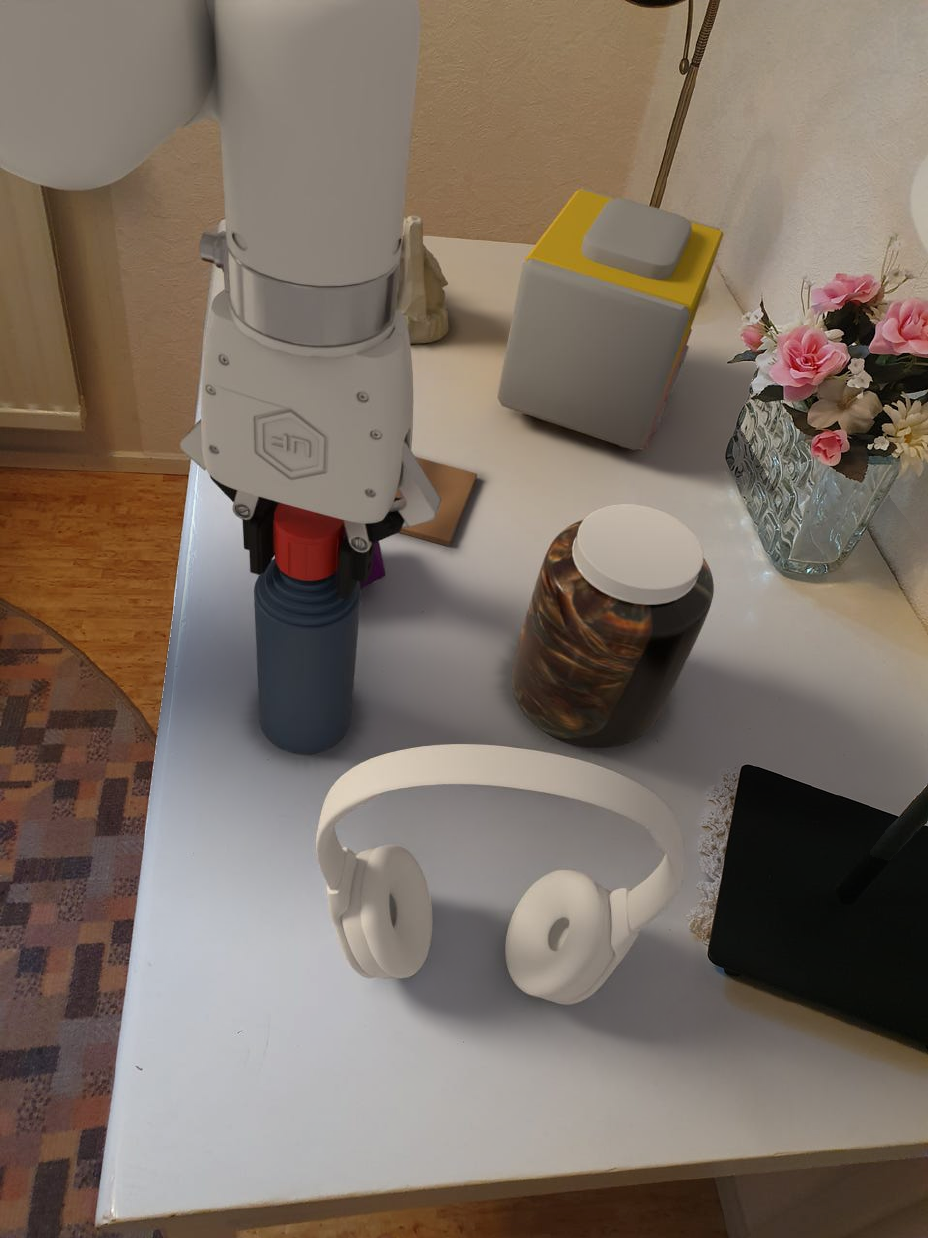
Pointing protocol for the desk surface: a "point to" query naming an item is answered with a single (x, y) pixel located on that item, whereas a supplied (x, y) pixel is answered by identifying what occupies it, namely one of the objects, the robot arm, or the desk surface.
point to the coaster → (443, 501)
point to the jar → (611, 625)
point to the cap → (306, 542)
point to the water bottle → (304, 659)
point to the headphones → (547, 913)
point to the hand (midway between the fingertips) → (308, 568)
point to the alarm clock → (606, 317)
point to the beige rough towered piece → (420, 287)
